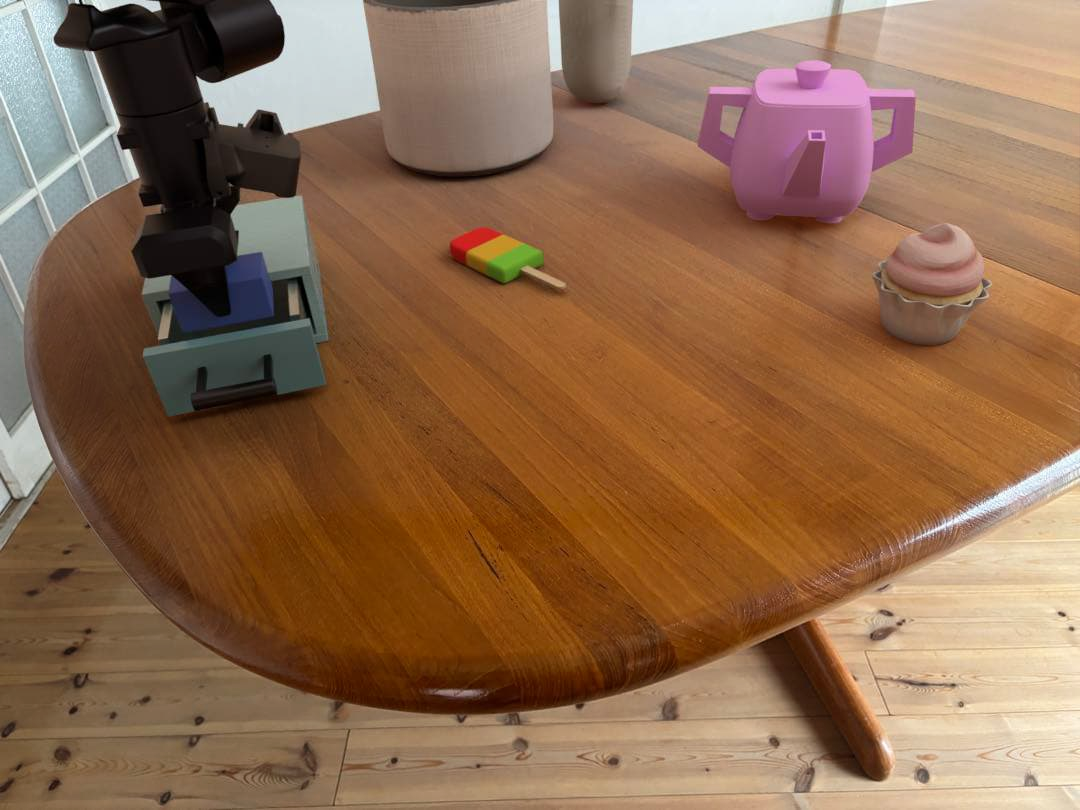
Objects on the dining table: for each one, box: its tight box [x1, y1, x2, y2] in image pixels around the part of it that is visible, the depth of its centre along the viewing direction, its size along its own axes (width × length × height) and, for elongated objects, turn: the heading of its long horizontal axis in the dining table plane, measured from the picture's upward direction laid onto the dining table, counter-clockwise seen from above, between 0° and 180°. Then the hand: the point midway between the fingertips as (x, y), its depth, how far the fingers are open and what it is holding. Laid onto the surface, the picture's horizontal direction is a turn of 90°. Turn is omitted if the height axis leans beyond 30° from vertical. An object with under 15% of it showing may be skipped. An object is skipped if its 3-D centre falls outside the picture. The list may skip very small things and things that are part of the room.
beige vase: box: [558, 0, 634, 104], centre depth 116 cm, size 10×10×28 cm
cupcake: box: [871, 222, 993, 346], centre depth 69 cm, size 9×9×10 cm
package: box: [168, 252, 274, 333], centre depth 65 cm, size 5×7×4 cm, turn 106°
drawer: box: [142, 276, 327, 417], centre depth 69 cm, size 20×13×6 cm, turn 16°
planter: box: [362, 0, 555, 178], centre depth 105 cm, size 23×23×20 cm
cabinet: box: [141, 195, 330, 344], centre depth 78 cm, size 16×14×8 cm
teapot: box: [697, 59, 917, 224], centre depth 88 cm, size 19×18×15 cm
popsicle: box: [449, 226, 567, 290], centre depth 83 cm, size 6×15×2 cm, turn 43°
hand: (225, 300), depth 66 cm, fingers closed on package, 4 cm apart
